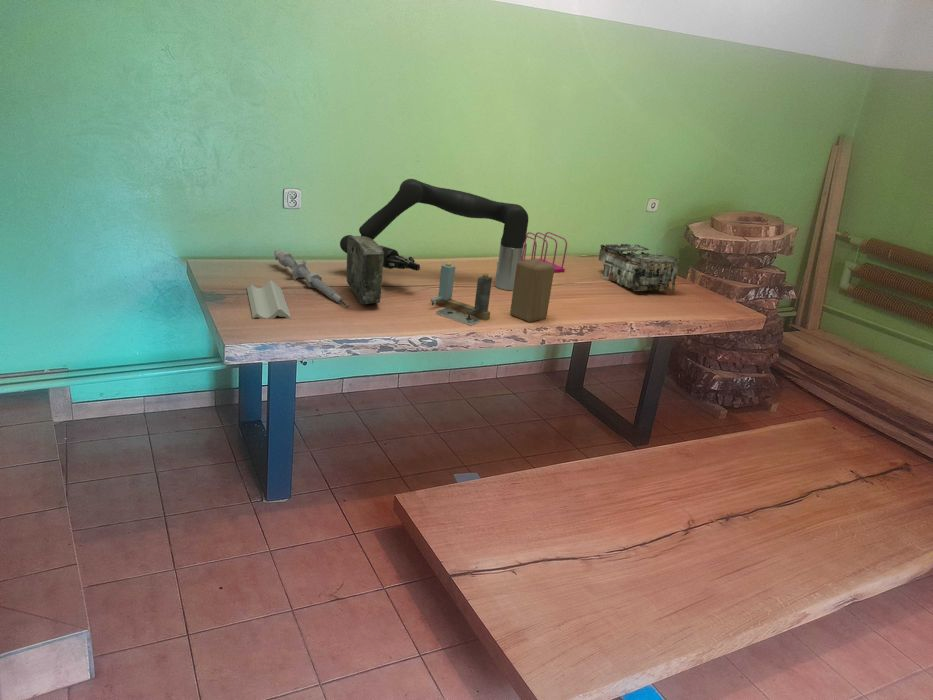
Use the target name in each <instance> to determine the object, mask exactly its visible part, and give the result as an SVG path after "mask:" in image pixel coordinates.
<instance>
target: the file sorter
mask: <svg viewBox="0 0 933 700" xmlns="http://www.w3.org/2000/svg"><path fill="white" fill-rule="evenodd" d="M529 234H530V235H532V236H534V237H531V236H529ZM548 234H550V235H553V236H555V237H557V238H560V239H561V240H564V242H565V246H564V247H565V248H564V254H563V259H562V263H561V266H560V265H557V264H555V261H556V256H557V249H558V241H557V239H556V238H554V237H552V236H549V235H548ZM539 235H542V236H544V237H542V236H539ZM546 237H547V238H549V239H551V240H553V241H554V242H555V249H554V255H553V259H552V262H550V261H548V260H546V257H547V252H548V247H549V244H548V241H547V239H546ZM537 238H539V239H542V241H543V243H542V247H541V248H542V249H541V252H540V253H541V254H540V258H536V252H537V240H536V239H537ZM527 239H531V240H533V244H532V250H531V257H530V258H531V259H530V260H533V259H536V260H539V261H542V262H545V263H548V264H551V265H553V266H554V273H565V269H566V268H565V267H564V266H565V265H564V264H565V258H566V253H567V248H568V241H567V239H566V238H565V237H564V236H563V237H562V236H560V235H558V234H556V233H553V232H550V231H547V232H546V233H543V232H536V233H533V232H531V231H528V232H527V233H526V239H525V242H524V246H523V253H522V260H521V261H526V260H527V259H526V254H527V246H528V244H527ZM545 245H546V246H545ZM544 247H545V252H544ZM543 253H544V257H543Z"/></svg>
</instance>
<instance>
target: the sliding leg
mask: <svg viewBox="0 0 933 700" xmlns="http://www.w3.org/2000/svg"><path fill="white" fill-rule="evenodd" d="M440 267H441V269H440V277H439V287H438V288H439V290H438V296H436V297H437V298H436V297H434V298H431V299H430V302H431V307H432V306H434V305H435V302H436V301H438V300H442V299H444V300H448V299H452V298H453V290H454V281H455V280H454V279H455V271H456V266H455V265H453V264H452V262H451V261H446V262H445V264H442V265H441V266H440Z"/></svg>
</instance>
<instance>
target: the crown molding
mask: <svg viewBox="0 0 933 700" xmlns="http://www.w3.org/2000/svg"><path fill="white" fill-rule="evenodd" d="M281 289H282V288H281V287H280V286H279V285H278V284H276V282H274V281H273V280H268V281H267V283H266V284H264V285H263V286H262V287H257V286H255V285H253V284H252V283H250V284H249V285H247V287H246V290H247V295H248V301H249V306H250V312H251V317H252V318H253V319H256V318H259V319H261V320H265V319H266V320H267V319H268V320H269V319H270V320H271V319H274V318H276V317H282V318H286V319H292V317H291V314H290V311H289V307H288V304H287V302H286V299H285V295H284V292H283V290H281ZM282 292H283V293H282Z"/></svg>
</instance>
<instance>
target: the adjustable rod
mask: <svg viewBox="0 0 933 700" xmlns="http://www.w3.org/2000/svg"><path fill="white" fill-rule="evenodd" d="M273 254H274V260H276V261H278V263H279V264H280V265H281V266H282V267H284V268H288V269H287V270H288V271H289V272H291V273H292V274H293V275H292V280H294V281H296V280H297V279H298V278H301V279H302V278H303V279H304V282H305V284H306V285H307V286H308V287H309V288H312V289H317V290H318V291H320V292H321V293H322V294H324V295H325V296H326V297H328V298H329V299H330V300H332V301H335V302H336V303H338V304H339V305H341V304H343V305H344V306H345V308H349V307H350V305H349V304H347V303H345V302H344V299H343V298H342V297H341V296H340V295H339V293H338V292H337V291H336V290H334V289H333V288H332V287H330V286H328V284H326V283H325V282H323V280H322V276H321V275H320V274H318V273H317V272H310V271H311V269H310V267H307V265H306V264H307V260H306V259H302V262H301V261H295V259H294V257H293V256H292V254H291V253H290V252H288V251H282V250H281V249H279V248H278V249H275V250H274V252H273Z"/></svg>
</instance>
